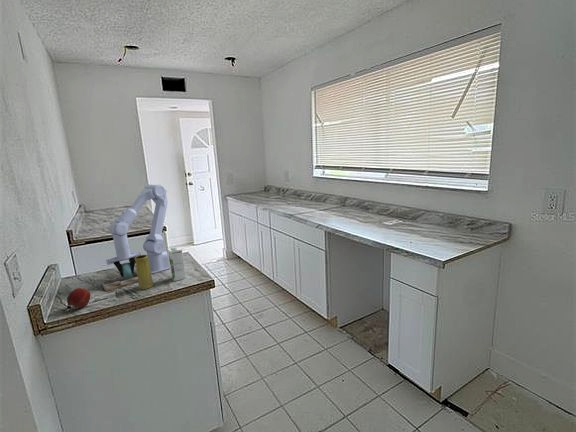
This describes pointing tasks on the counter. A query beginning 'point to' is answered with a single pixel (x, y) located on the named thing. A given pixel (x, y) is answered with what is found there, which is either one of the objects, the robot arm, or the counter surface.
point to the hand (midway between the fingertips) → (127, 274)
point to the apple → (79, 298)
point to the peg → (126, 271)
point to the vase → (143, 272)
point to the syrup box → (176, 263)
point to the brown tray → (119, 282)
